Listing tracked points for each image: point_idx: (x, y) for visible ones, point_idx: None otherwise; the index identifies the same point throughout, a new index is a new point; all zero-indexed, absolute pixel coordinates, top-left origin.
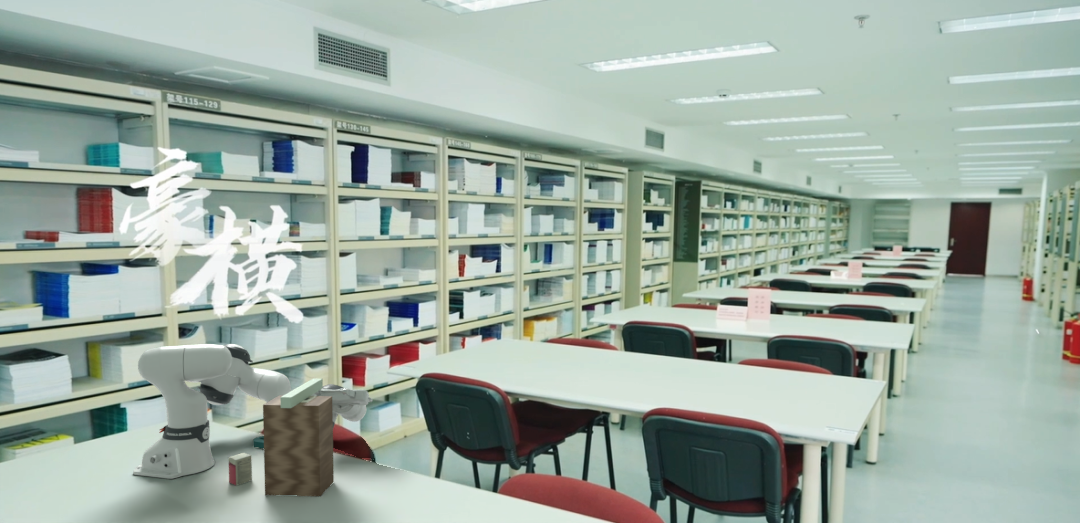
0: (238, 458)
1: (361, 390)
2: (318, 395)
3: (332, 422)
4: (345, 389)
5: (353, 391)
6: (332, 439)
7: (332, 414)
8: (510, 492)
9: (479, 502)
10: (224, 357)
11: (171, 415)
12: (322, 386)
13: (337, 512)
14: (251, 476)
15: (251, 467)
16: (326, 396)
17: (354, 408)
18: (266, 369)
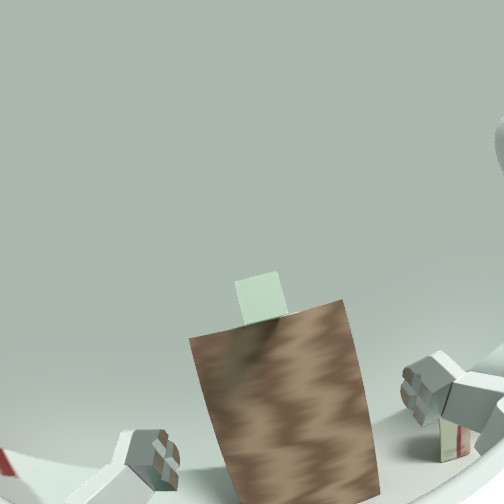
0: None
1: (7, 500)
2: (480, 434)
3: (208, 410)
4: (147, 430)
5: (80, 496)
6: (221, 449)
7: (202, 389)
8: (8, 474)
9: (46, 473)
10: (498, 149)
11: None
12: (243, 316)
13: (211, 470)
14: (441, 455)
15: (440, 440)
16: (204, 335)
17: None
18: None
